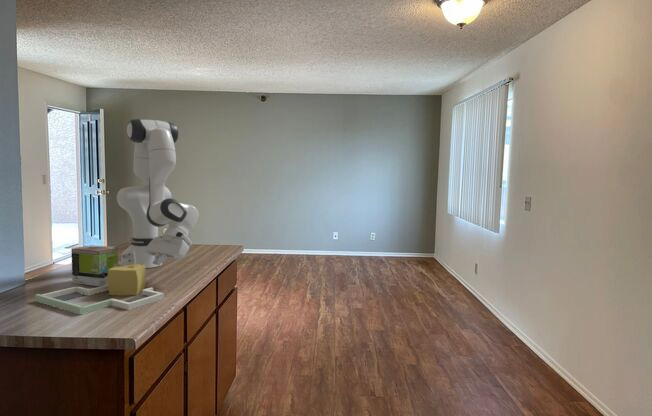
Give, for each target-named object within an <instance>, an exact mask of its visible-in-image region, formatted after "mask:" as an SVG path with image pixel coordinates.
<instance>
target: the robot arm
mask: <svg viewBox="0 0 652 416" xmlns="http://www.w3.org/2000/svg"><path fill="white" fill-rule="evenodd" d="M126 134H127V137H128V139H129V141H131V142H134V150H133V173H134V175H135V176H136V177H138V178H139V179H142V181H143V185H144V186H142V185H141V186H140V185H139V186H128V187H127V186H126V187H124V188H121V189H120V190H118V192H117V194H116V201H117V203H118V204H117V205H118V206H120V208H121V209H123V210H124V211H126V212H127V214H128V216H129V218H130V219H131V221H132V222H131V223H132V229H133V230H132V231H133V234H132V235H133V236H132V237H130V238H129V239H130V240H129V241H130V242H131V243H130V245H129V246H128V247H127V248H126V249H125V250H123V251H122V253H121V260H118V266H125V265H128V264H144V265H145V269H150V268H157V267H160V266H162V265H163V263H164V262H165V261H166V260H167V259H168V258H169V259H176V260H178V259H179V260H181V259H183V258H184V257H185V256H186V255H187V253H188V252H189V249H190V247H191V246H192V245H193V242H192V240H191V239H190V238H189V237H188V236H189V233H190V232H191V231H192V230H193V229H194V227H195V226H196V224H197V222H198V220H199V217H200V213H199V210H198V209H197V208H196V207H195V206H194V205H192V204H188V203H187V204H186V203H181V202H179V201H178V200H176V199H174V198H172V193H171V191H170V189H169V188H168V187H167V186H166V182H167V179H168V178H169V176H170V174H171V173H172V172H173V171H174V170H175V168H176V164H177V163H176V162H177V154H176V147H175V143H177V141H178V139H179V129H178V127H177V125H176V124H175V123H173V122H170V121H163V120H157V119H140V118H132V119H130V121H128V123H127V126H126ZM167 224H168V225H169V226H168V227H167V228H166V230H165V232H164V233H163V234H162V235H159V228H161V227H164V226H166V225H167Z"/></svg>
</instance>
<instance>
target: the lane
mask: <svg viewBox="0 0 652 416" xmlns="http://www.w3.org/2000/svg"><path fill="white" fill-rule="evenodd" d="M107 290H108V291H109V289H108V284H107V285H104V286H95V287H93V288H92V287H91V288H86V287H83V286H73V287H68V288H64V289H58V290H56V291H52V292H47V293H42V294H40V293H36V294H34V296H35V297H34V301H35V302H36V303H38V302H39V304H42V303H43V305H45V304H47V305H46V306H48V305H51V306H50V307H52V306H55V307H58V308H57V309H59V308H62V309H65V310H67V311H66V312H69V311H70V313H72V312H74V313H73V314H75V313H78V314H77V315H79V314H82V315H84V314H83V313H85V314H87V313H86V312H88V313H91V312H90V311H92V312H94V310H95V311H98V310H101V308H102V309H104V307H105V308H108V307H111V306H112V307H116V308H119V309H124V310H127V311H131V310H133V308H134V309H136V307H137V308H139V307H142V306H147V305H149V304H152V303H154V302H155V303H156V302H158V301H160V300H164V299H165V295H164V292H161V291H155V290H154V287H148V288H145V289H143V290H142V291H141V295H139V296H136V297H133V298H129V299H126V300H120V299H116V298H109V299H105V300H102V301H98V302H95V303H91V304H88V305H85V306H82V305H79V304H75V303H71V302H68V301H69V299H70V300H73V298H74V299H76V297H78V298H81V297H84V295H85V294H86V295H85V296H88V295H89V296H92V295H91V294H93V295H95V293H97V294H100V293H99V292H101V293H103V291H104V292H107ZM81 293H82V294H81ZM80 296H81V297H80ZM65 300H66V301H65ZM55 307H54V308H55ZM62 309H61V310H62ZM97 309H98V310H97ZM65 310H64V311H65Z"/></svg>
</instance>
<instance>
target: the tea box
mask: <svg viewBox="0 0 652 416" xmlns="http://www.w3.org/2000/svg"><path fill="white" fill-rule="evenodd" d="M70 250H71V277H72V283H73V284H78V285H84V286H85V285H86V286H92V287H94V286H95V287H100V286H104V285H108V270H109V269H111V268H113V267H117V266H119V265H118V262H119V248H118V246H109V245H108V246H107V245H94V244H91V245H90V244H89V245H85V246H79V247H72V248H71V249H70Z"/></svg>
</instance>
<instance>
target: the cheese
mask: <svg viewBox="0 0 652 416" xmlns="http://www.w3.org/2000/svg"><path fill="white" fill-rule="evenodd" d="M146 279H147V278H146V268H145V265H144V264H128V265H125V266H119V265H118V266H117V267H113V268H111V269H109V270H108V284H107V285H108V289H109V290H108V293H109V294H108V295H109V296H110V295H118V296H137V295H139V294H140V293H142V290H144V289H146Z"/></svg>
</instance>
